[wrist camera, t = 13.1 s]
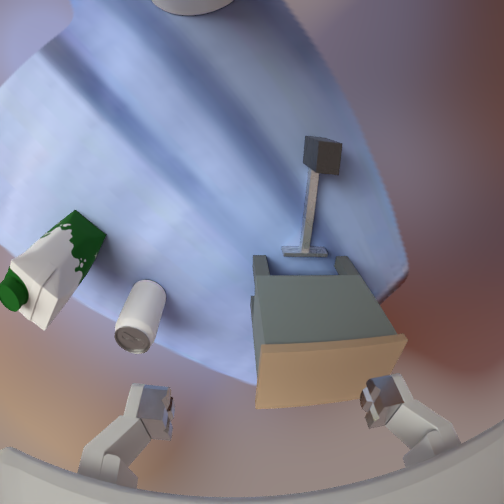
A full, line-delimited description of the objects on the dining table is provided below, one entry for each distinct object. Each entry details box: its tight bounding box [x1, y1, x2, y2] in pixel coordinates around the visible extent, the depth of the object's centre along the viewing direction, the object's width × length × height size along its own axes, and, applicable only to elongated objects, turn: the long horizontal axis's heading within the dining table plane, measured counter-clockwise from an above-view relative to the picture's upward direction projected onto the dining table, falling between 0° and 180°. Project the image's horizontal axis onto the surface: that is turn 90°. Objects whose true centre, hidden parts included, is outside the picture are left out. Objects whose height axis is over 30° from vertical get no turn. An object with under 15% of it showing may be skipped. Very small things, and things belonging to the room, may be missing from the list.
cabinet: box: [250, 255, 408, 409], centre depth 40 cm, size 11×17×21 cm, turn 87°
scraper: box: [281, 136, 342, 257], centre depth 39 cm, size 18×7×7 cm, turn 177°
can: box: [115, 280, 166, 354], centre depth 43 cm, size 6×6×12 cm
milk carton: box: [0, 210, 106, 331], centre depth 34 cm, size 9×9×20 cm
